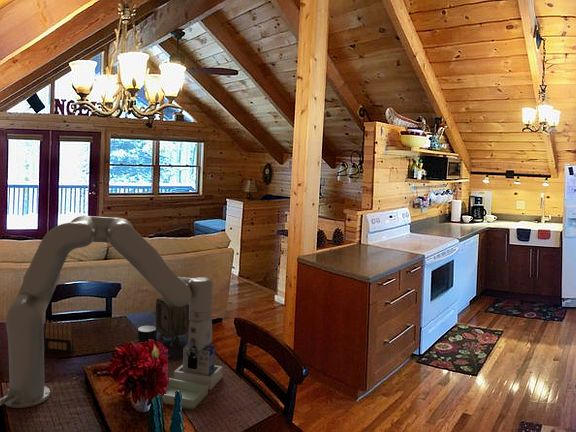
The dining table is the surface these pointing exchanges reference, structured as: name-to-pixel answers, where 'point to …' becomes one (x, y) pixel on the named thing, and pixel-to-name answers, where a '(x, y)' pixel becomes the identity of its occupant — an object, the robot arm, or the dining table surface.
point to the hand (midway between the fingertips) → (198, 362)
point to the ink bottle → (147, 333)
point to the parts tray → (186, 393)
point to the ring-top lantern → (171, 319)
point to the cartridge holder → (199, 376)
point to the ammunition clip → (58, 338)
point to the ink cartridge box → (201, 361)
